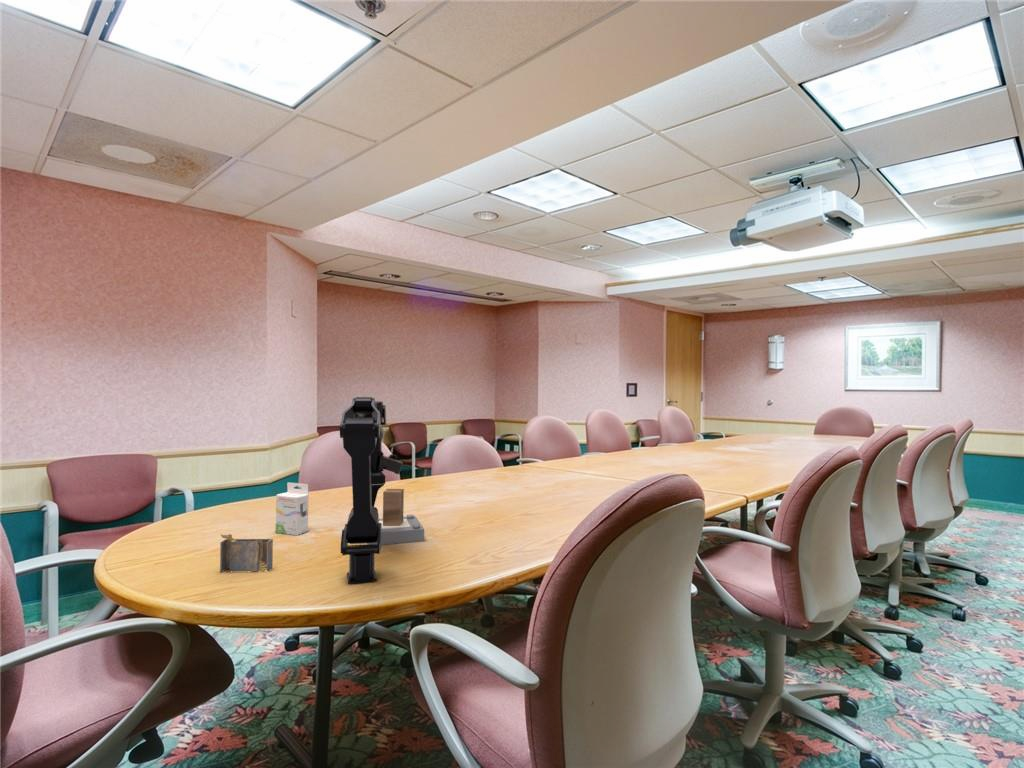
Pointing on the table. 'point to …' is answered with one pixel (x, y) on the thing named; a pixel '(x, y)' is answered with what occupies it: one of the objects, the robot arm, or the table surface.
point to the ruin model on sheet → (246, 554)
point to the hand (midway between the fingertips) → (370, 505)
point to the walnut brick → (393, 507)
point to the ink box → (292, 510)
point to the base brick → (402, 531)
